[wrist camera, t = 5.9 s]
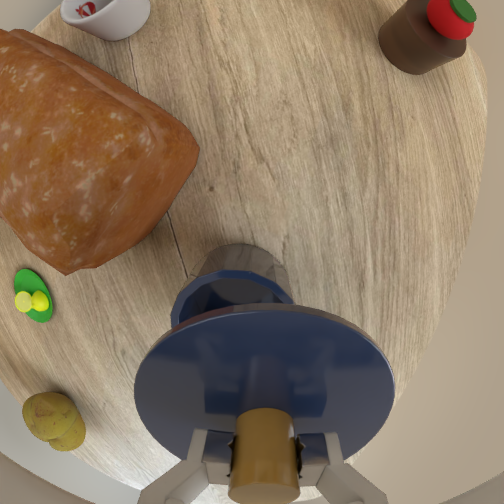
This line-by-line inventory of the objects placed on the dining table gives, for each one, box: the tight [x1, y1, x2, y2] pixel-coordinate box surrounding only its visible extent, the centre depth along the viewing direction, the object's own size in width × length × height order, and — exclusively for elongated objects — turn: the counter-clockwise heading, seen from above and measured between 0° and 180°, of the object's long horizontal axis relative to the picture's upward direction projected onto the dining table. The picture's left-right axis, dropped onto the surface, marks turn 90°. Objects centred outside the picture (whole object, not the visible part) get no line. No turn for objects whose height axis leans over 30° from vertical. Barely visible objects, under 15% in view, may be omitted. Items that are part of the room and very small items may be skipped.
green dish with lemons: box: [14, 269, 52, 323], centre depth 29 cm, size 8×8×3 cm
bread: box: [0, 29, 200, 276], centre depth 17 cm, size 14×26×16 cm, turn 52°
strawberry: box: [427, 0, 476, 40], centre depth 12 cm, size 4×4×5 cm
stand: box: [378, 0, 466, 75], centre depth 18 cm, size 7×7×7 cm
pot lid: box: [134, 303, 395, 504], centre depth 9 cm, size 11×11×5 cm
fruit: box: [22, 392, 86, 451], centre depth 32 cm, size 11×12×10 cm
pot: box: [170, 244, 296, 328], centre depth 26 cm, size 10×10×8 cm
